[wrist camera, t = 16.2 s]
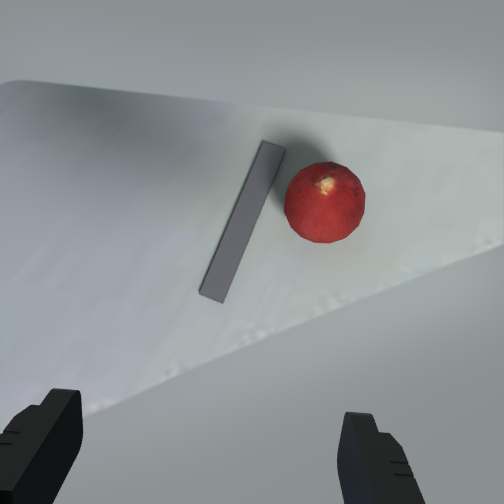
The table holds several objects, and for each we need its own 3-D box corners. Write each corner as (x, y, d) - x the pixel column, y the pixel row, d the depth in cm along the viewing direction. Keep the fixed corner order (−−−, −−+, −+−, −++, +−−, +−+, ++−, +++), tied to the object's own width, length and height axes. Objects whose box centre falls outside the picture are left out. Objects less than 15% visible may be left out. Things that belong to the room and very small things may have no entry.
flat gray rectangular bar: (200, 294, 34) (199, 294, 34) (263, 143, 37) (263, 141, 37) (222, 303, 34) (222, 303, 34) (285, 150, 37) (285, 148, 36)
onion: (304, 175, 36) (303, 125, 28) (369, 200, 35) (388, 155, 27) (275, 237, 35) (266, 202, 27) (341, 265, 34) (353, 236, 26)
